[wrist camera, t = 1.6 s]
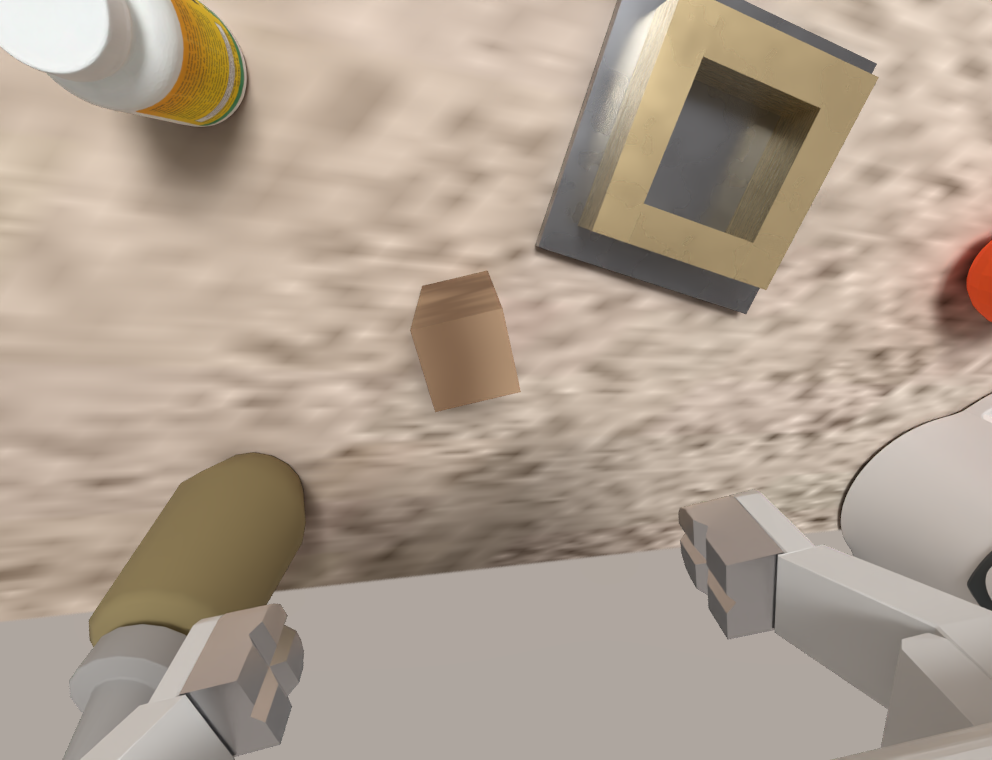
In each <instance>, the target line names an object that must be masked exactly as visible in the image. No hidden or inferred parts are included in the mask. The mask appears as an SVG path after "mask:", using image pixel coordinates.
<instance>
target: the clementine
mask: <svg viewBox="0 0 992 760" xmlns="http://www.w3.org/2000/svg"><path fill="white" fill-rule="evenodd" d="M967 291H968V294H969V297H970V300H971V302H972V305H973V306H974V307H975V308H976V310H977V311H978V312H979V313H980V314H981V315H983V316H984V317H985V318H986V319H987V320H988V321H990V322H992V240H991V241H990V242H989V243H988V244H987V245H986V246H985V247H984V248H983V249H982V250H981V251H980V252H979V254H978V255H977V256H976V258H975V259H974V261H973V263H972V265H971V267H970V269H969V272H968V276H967Z"/></svg>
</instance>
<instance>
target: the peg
mask: <svg viewBox="0 0 992 760" xmlns="http://www.w3.org/2000/svg"><path fill="white" fill-rule="evenodd" d="M410 331H411V334H412V337H413V341H414V344H415V347H416V350H417V354H418V357H419V360H420V363H421V367H422V370H423V373H424V377H425V380H426V383H427V386H428V390H429V393H430V396H431V399H432V403H433V406H434V409H435V412H438V411H442V410H446V409H450V408H455V407H459V406H463V405H467V404H472V403H476V402H480V401H484V400H488V399H493V398H497V397H501V396H505V395H510V394H514V393H518V392H521V391H520V387H519V382H518V377H517V373H516V368H515V364H514V359H513V355H512V350H511V345H510V341H509V336H508V332H507V327H506V322H505V318H504V313H503V309H502V306H501V304H500V301H499V298H498V296H497V293H496V291H495V288H494V286H493V283H492V281H491V278H490V276H489V273H488V271H484V272H479V273H475V274H471V275H467V276H463V277H458V278H454V279H450V280H446V281H442V282H437V283H433V284H429V285H425V286H422V289H421V293H420V297H419V300H418V304H417V308H416V311H415V315H414V319H413V322H412V326H411V330H410Z"/></svg>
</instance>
